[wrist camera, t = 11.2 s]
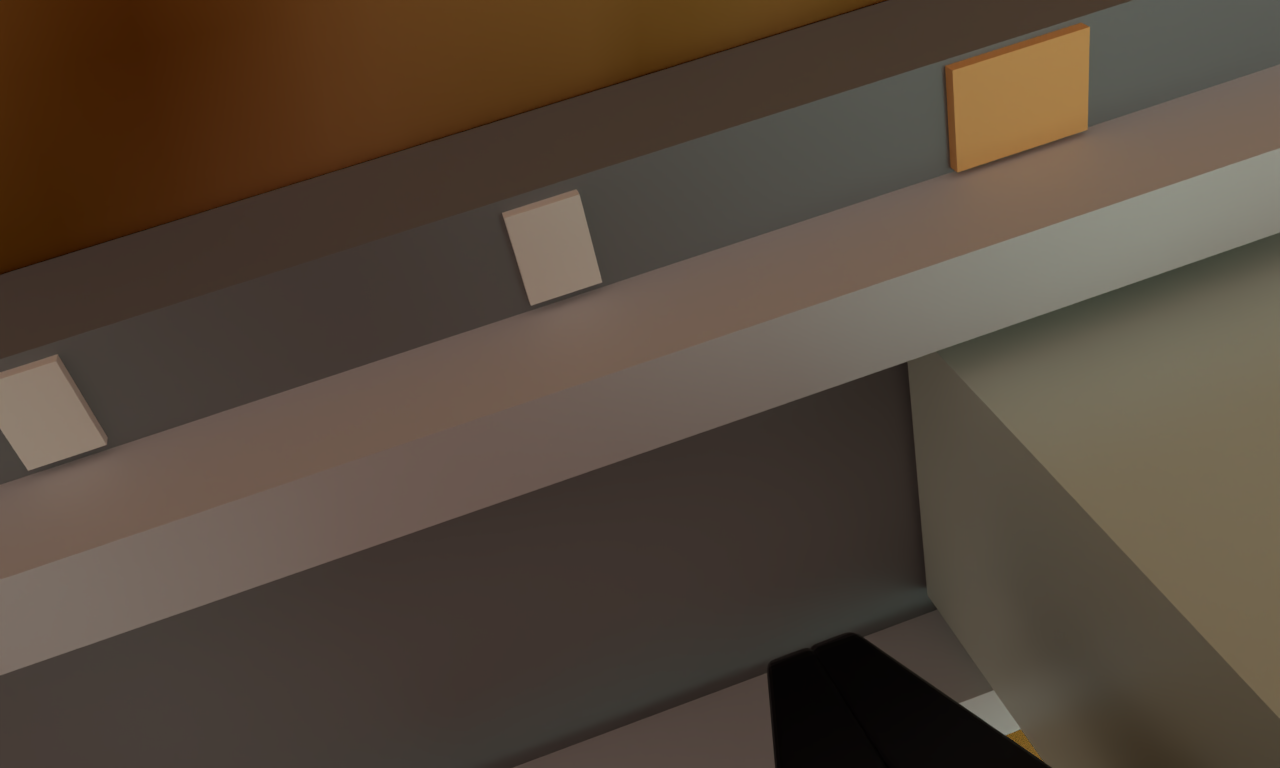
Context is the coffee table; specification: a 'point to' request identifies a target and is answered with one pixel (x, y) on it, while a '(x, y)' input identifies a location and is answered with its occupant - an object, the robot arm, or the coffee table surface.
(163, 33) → the coffee table surface
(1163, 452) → the tally marker
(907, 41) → the rail
